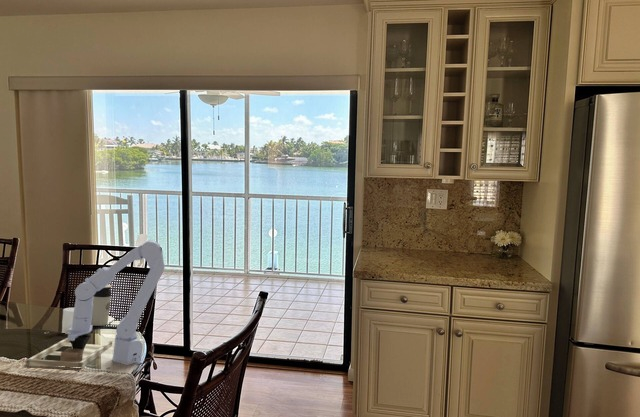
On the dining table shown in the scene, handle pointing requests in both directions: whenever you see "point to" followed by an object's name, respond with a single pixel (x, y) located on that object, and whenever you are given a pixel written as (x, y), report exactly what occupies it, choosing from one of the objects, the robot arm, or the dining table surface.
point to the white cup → (67, 319)
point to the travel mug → (101, 306)
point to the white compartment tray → (88, 356)
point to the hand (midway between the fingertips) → (77, 356)
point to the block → (72, 355)
